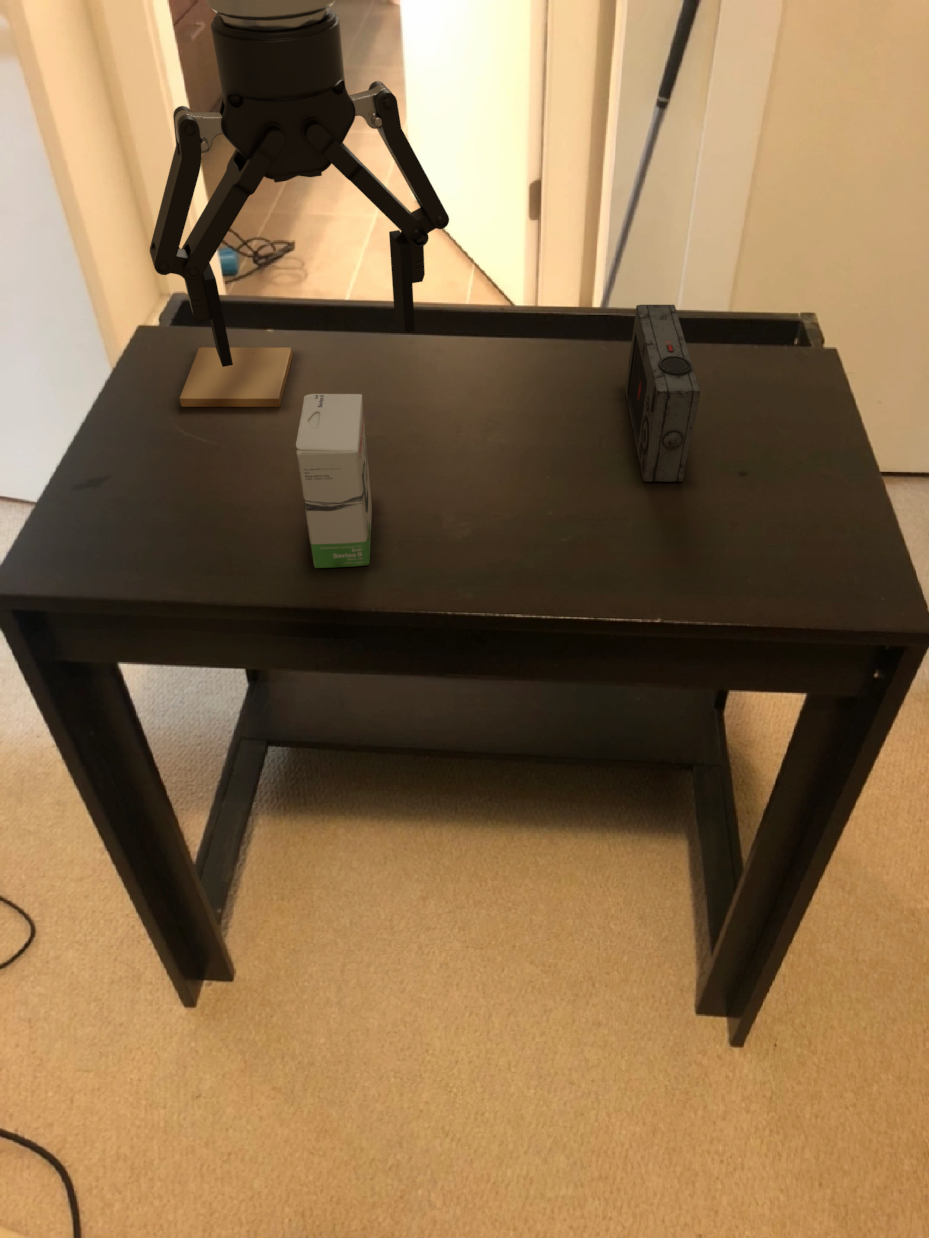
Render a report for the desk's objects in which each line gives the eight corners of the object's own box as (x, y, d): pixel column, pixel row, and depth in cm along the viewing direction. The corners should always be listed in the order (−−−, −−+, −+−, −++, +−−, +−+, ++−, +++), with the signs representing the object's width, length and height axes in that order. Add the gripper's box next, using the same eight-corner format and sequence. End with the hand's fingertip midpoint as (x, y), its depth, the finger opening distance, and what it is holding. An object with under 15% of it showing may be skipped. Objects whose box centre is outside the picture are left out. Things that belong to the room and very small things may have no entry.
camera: (686, 490, 90) (705, 395, 83) (643, 490, 90) (658, 395, 83) (661, 392, 101) (676, 301, 94) (623, 392, 101) (635, 301, 94)
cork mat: (181, 407, 99) (179, 398, 99) (200, 355, 106) (198, 347, 106) (279, 407, 99) (278, 398, 99) (292, 355, 106) (291, 347, 106)
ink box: (370, 568, 82) (359, 452, 74) (311, 570, 82) (293, 453, 74) (373, 503, 88) (363, 389, 80) (318, 505, 88) (302, 391, 80)
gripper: (454, -26, 63) (458, 288, 78) (47, 16, 57) (138, 346, 72) (496, 4, 58) (492, 333, 73) (56, 53, 52) (151, 399, 67)
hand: (316, 340), depth 72 cm, fingers open, 13 cm apart
